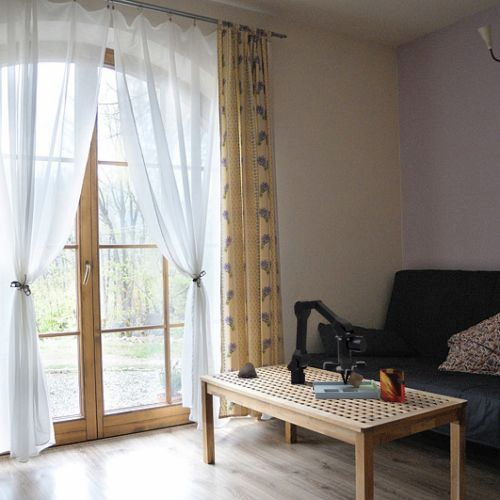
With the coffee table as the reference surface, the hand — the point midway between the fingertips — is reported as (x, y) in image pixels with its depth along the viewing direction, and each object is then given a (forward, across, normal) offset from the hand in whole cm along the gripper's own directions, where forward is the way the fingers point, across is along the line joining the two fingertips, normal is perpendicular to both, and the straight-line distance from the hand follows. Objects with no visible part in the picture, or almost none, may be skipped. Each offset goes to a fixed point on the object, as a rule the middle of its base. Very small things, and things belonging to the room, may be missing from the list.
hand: (345, 384), depth 267 cm
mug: (+3, +19, -17) cm, 26 cm away
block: (0, +3, 0) cm, 3 cm away
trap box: (+3, -1, -4) cm, 5 cm away
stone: (+3, -46, +35) cm, 58 cm away
